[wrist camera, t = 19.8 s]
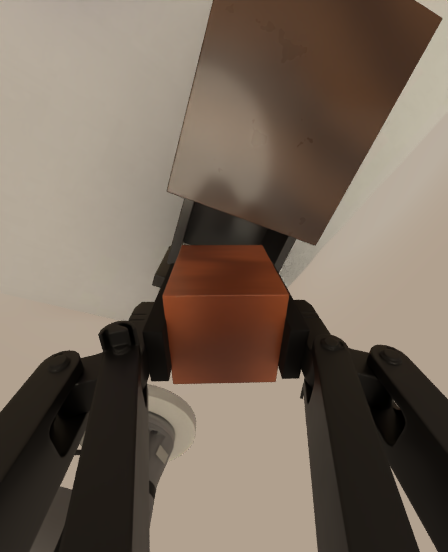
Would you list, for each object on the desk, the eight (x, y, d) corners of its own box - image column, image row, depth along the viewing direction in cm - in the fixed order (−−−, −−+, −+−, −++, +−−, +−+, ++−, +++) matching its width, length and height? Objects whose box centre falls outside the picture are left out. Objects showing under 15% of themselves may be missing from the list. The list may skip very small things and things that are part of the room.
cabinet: (284, 219, 28) (315, 245, 19) (182, 180, 26) (166, 191, 17) (354, 72, 22) (443, 17, 13) (229, 5, 20) (240, -113, 11)
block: (186, 311, 17) (172, 384, 11) (181, 244, 14) (161, 295, 9) (256, 311, 17) (275, 382, 11) (262, 244, 15) (289, 294, 9)
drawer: (232, 324, 34) (237, 367, 27) (154, 302, 32) (136, 343, 25) (302, 176, 25) (336, 182, 18) (200, 133, 23) (194, 122, 16)
